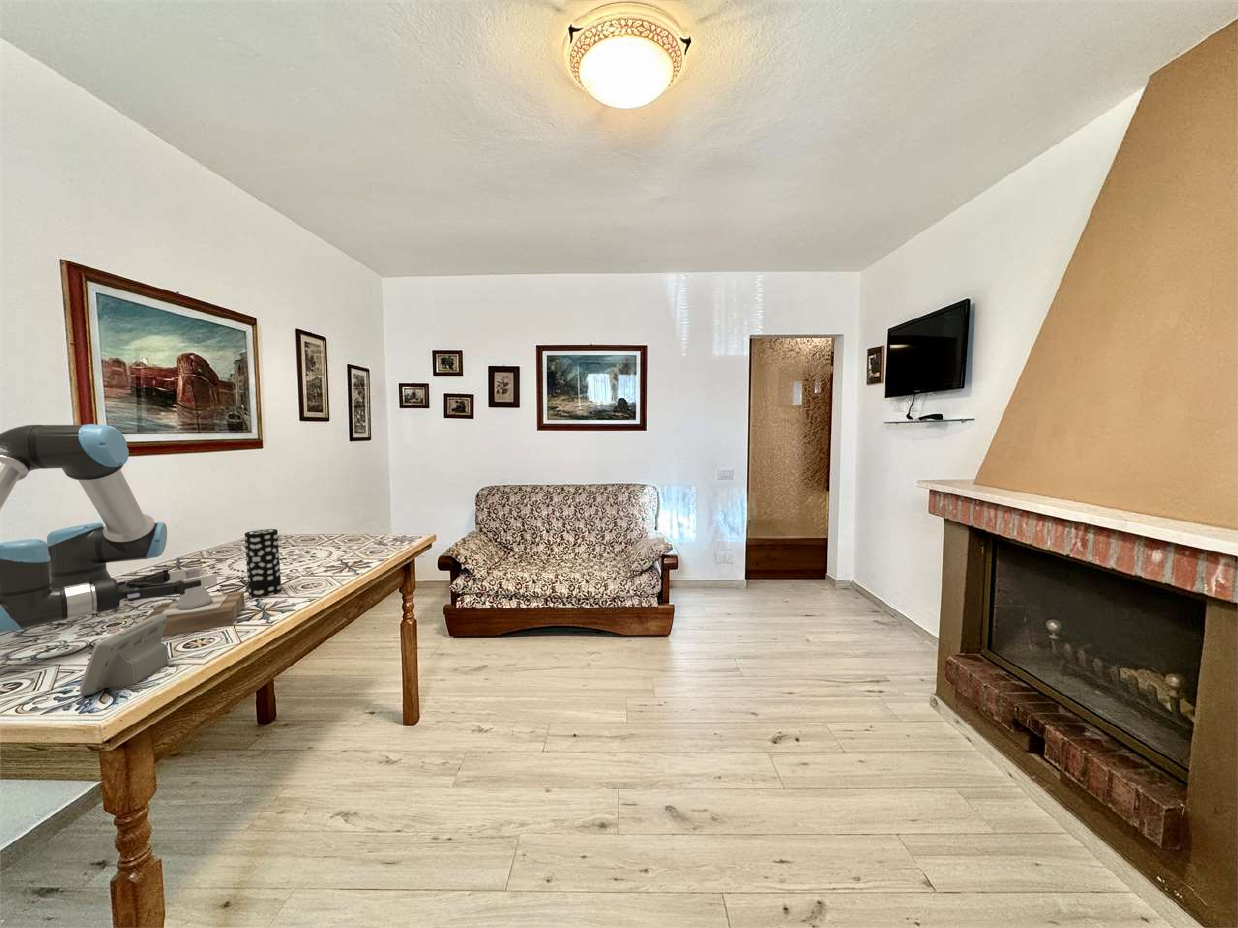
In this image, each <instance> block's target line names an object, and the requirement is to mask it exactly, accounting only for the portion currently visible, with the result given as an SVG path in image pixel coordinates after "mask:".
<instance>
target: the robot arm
mask: <svg viewBox="0 0 1238 928" xmlns="http://www.w3.org/2000/svg"><path fill="white" fill-rule="evenodd" d="M127 446H128V443H127V440H126V438H125V436H124V435H123V434H122V431H120V430H118V429H117V428H116V427H114V426H111V425H106V424H94V423H89V424H87V423H86V424H29V425H27V424H26V425H23V426H17V427H14V428H11V429H8V430H5V431H4V432H1V433H0V511H1V509H2V507H3V506H4V504H5V503H6V501H7V499H8V497H9V495H10V494H11V492H12V490H13V488H14V487H15V486H16V483H17V482H18V481H21V480H23V479H25V478H26V477H27V476H28V475H29V473H30V472H32V471H33V470H39V469H42V470H43V469H47V470H48V469H62V470H63V473H64V474H65V475H66V477H67V478H70V479H71V480H74V481H78V482H79V484H80V485H81V488H82V489H83V490H84V492H85V494H86V495H87V497H88V498H89V501H91V503H92V505H93V507H94V509H95V510H96V512H97V513H98V515H99V517H100V518H101V520H102V522H92V523H85V524H80V525H75V526H69V527H64V528H60V529H56V530H52V531H51V532H49V533H48V534H47V535H46V540H43V539H37V538H32V539H30V538H29V539H28V538H27V539H20V540H12V541H6V542H5V541H4V542H0V634H4V633H10V632H14V631H23V630H25V629H30V628H34V627H39V626H42V625H43V626H44V625H46V624H51V623H55V622H60V621H64V620H66V621H67V620H70V619H72V618H73V620H75V621H76V620H79V619H80V617H82V616H87V615H92V614H93V613H94V611H95V612H96V613H102V612H108V611H112V610H117V609H118V608H119V607H120V603H121V602H120V601H121V600H124V599H125V600H126V599H127V602H135V601H141V600H145V599H155V598H161V597H169V596H175V595H179V596H181V595H183V594H185V591H186V590H191V589H196V588H200V587H205V588H206V587H209V586H213V585H217V584H218V580H217V579H218V578H217V574H216V573H212V574H207V575H203V572H202V566H195V567H193V566H192V567H190V568H189V567H188V568H184V569H178V570H173V571H169V569H163V570H162V571H158V572H156V573H151V574H147V575H144V576H140V577H137V578H132V579H129V580H124V581H119V582H118V581H117V579H115V578H112V577H111V574H110V572H109V571H108V569H107V563H118V562H128V561H137V560H138V561H139V560H147V559H153V558H154V559H155V558H158V557H160V556H162V555H163V554H164V552H165V550H166V546H167V541H168V540H167V539H168V527H167V523H165V522H162V521H157V522H155V521H154V519H153V518H152V517H151V516H150V515H148V514H145V513H144V512H143V511H142V509H141V507H140V505H139V503H138V500H137V499H136V497H135V494H134V493H133V492H132V489H131V488H130V485H129V483H128V481H127V480H126V478H125V476H124V474H123V472H122V470H121V469H123V467H124V465H125V464H126V463H127V461H128V460H129V456H130V455H129V454H130V452H129V451H130V450H129V448H128V447H127ZM103 523H104V524H103ZM104 525H105V526H104ZM191 568H201V570H200V571H199V574H200V577H196V578H191V579H186V573H185V572H184V570H187V569H191Z"/></svg>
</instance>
